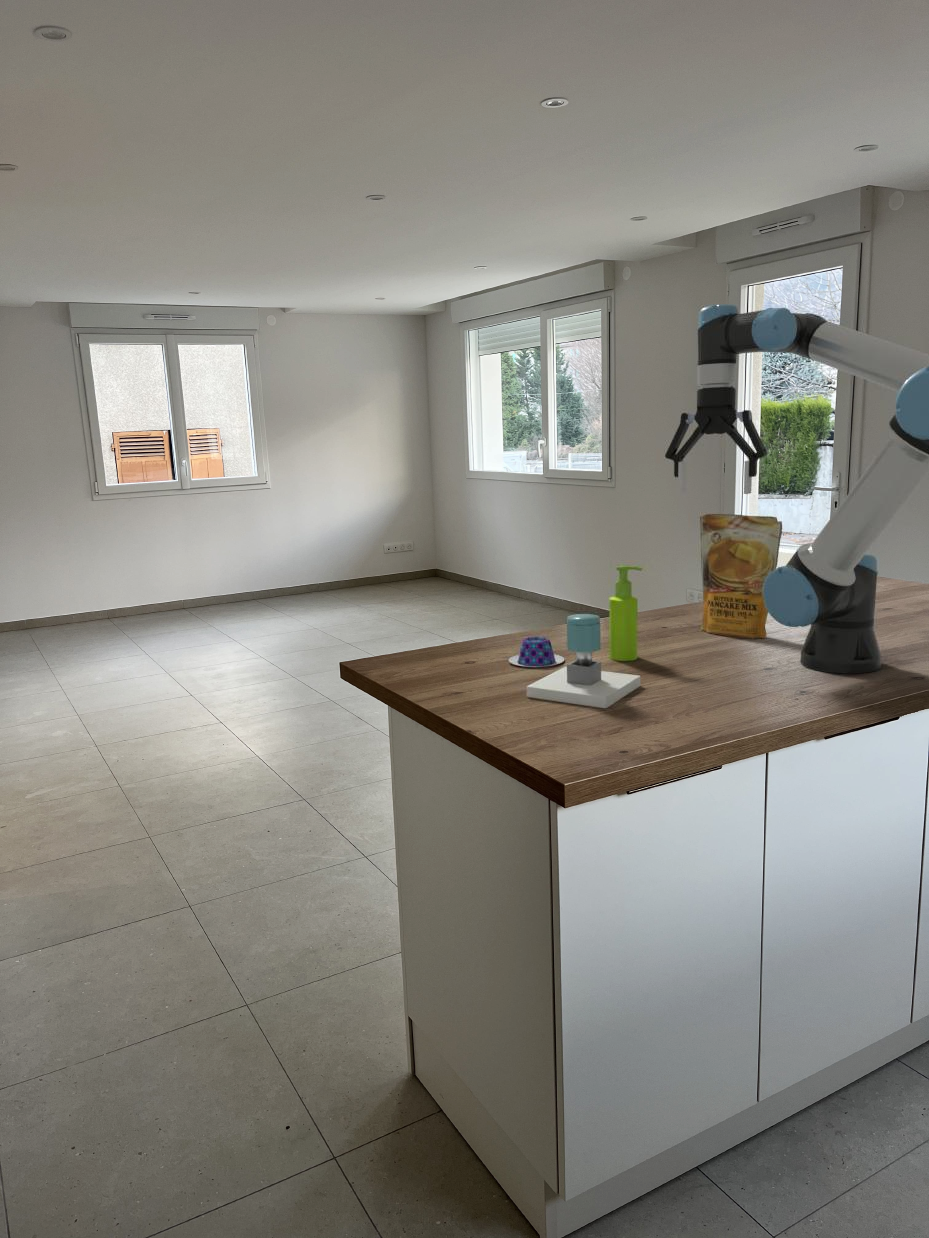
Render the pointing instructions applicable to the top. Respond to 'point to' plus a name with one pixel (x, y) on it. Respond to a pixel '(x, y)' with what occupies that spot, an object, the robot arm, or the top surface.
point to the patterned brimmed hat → (536, 653)
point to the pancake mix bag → (737, 572)
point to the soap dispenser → (623, 618)
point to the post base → (584, 685)
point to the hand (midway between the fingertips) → (714, 493)
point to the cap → (583, 633)
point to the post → (584, 658)
